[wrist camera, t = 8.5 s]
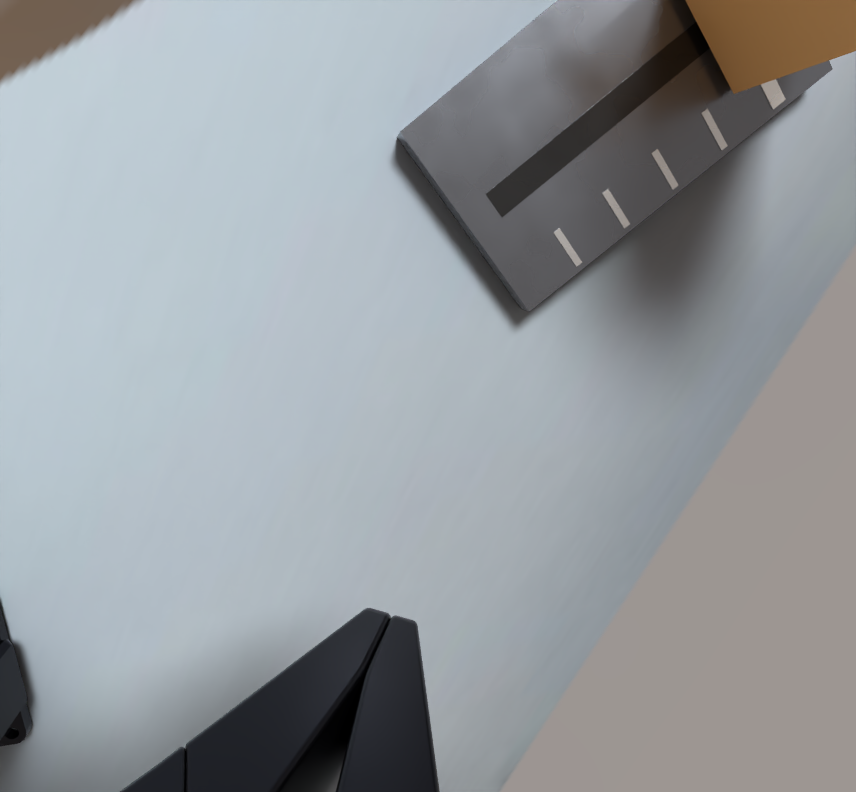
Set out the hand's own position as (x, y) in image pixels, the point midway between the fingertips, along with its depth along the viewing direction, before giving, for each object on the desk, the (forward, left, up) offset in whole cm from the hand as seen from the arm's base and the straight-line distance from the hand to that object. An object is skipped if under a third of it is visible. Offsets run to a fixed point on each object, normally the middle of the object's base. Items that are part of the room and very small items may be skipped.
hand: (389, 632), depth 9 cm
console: (+9, +10, -12) cm, 18 cm away
